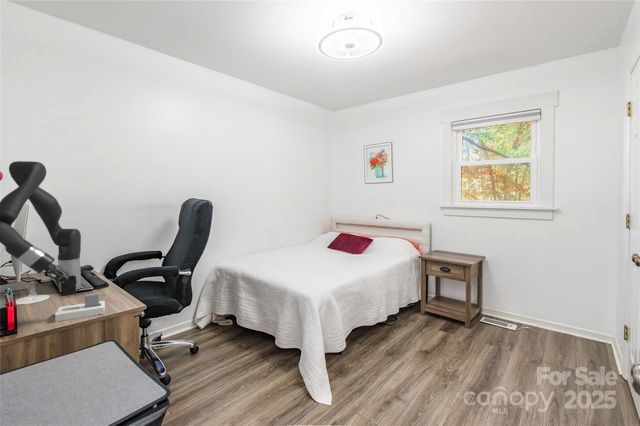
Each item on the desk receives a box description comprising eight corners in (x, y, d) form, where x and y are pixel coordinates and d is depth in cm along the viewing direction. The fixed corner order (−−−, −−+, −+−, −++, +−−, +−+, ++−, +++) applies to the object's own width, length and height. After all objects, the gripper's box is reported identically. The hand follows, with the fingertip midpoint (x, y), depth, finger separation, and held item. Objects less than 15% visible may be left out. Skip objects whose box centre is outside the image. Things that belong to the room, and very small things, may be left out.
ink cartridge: (76, 292, 139) (76, 274, 139) (75, 294, 137) (75, 276, 137) (62, 294, 136) (61, 276, 136) (61, 296, 134) (60, 277, 134)
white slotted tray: (59, 313, 140) (58, 295, 139) (105, 306, 148) (104, 290, 148) (55, 321, 131) (54, 303, 130) (103, 314, 140) (103, 296, 139)
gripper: (41, 255, 126) (80, 281, 133) (48, 249, 137) (84, 274, 145) (23, 270, 123) (65, 296, 131) (32, 262, 135) (69, 287, 142)
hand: (74, 284), depth 138 cm, fingers closed on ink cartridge, 2 cm apart
